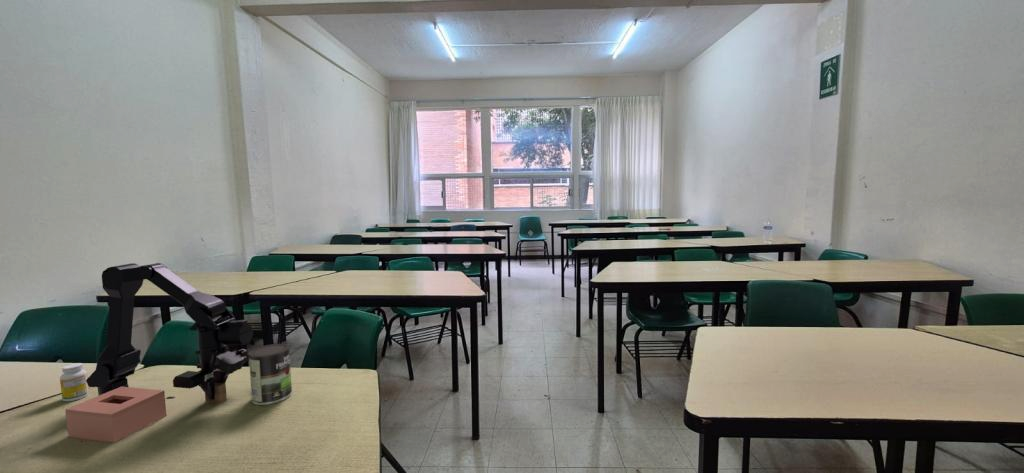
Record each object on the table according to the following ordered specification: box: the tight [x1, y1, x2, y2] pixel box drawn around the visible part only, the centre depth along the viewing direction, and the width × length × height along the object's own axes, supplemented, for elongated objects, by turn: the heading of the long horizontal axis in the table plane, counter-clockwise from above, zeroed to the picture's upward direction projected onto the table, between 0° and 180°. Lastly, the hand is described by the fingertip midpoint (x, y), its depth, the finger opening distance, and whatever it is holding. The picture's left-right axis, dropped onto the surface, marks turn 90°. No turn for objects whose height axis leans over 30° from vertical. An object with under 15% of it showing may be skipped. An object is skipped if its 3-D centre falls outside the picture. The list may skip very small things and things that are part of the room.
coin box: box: [64, 387, 167, 443], centre depth 102 cm, size 14×12×7 cm
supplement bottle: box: [59, 362, 90, 402], centre depth 117 cm, size 5×5×10 cm
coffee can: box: [247, 343, 293, 406], centre depth 116 cm, size 10×10×14 cm
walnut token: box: [204, 382, 228, 404], centre depth 114 cm, size 5×2×5 cm, turn 80°
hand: (215, 397), depth 114 cm, fingers closed on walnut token, 2 cm apart
